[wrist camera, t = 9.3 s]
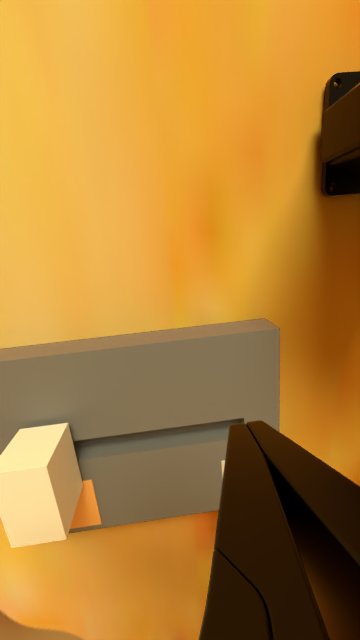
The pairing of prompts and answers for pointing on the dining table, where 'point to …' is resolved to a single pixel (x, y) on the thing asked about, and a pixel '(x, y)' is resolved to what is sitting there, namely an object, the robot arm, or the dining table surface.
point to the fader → (39, 485)
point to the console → (145, 412)
